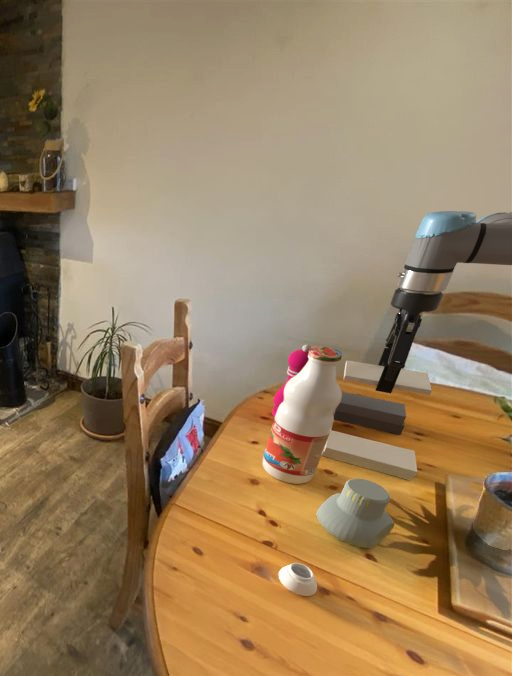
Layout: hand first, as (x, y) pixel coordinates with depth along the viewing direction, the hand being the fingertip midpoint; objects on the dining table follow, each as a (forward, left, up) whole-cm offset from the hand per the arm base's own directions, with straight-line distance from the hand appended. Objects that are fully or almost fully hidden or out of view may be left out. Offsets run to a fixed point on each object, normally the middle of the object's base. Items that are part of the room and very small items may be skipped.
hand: (382, 382), depth 99 cm
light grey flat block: (0, +18, -11) cm, 21 cm away
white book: (0, 0, +1) cm, 1 cm away
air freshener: (+2, +45, -11) cm, 46 cm away
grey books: (0, 0, -11) cm, 11 cm away
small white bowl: (+8, +62, -11) cm, 64 cm away
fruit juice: (+13, +32, -11) cm, 36 cm away
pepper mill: (+16, +8, -11) cm, 21 cm away
